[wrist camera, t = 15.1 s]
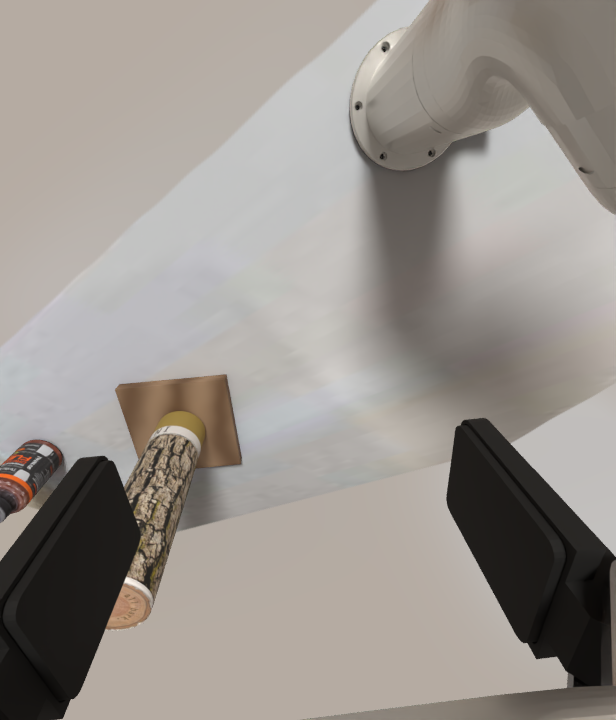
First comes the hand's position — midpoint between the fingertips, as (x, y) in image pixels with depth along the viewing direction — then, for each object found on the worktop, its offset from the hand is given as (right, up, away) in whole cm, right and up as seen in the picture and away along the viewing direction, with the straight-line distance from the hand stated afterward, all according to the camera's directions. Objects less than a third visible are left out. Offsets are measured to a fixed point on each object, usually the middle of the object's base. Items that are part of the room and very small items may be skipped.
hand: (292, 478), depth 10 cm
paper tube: (-18, -7, +42) cm, 47 cm away
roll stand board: (-18, -6, +44) cm, 48 cm away
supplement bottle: (-40, -11, +44) cm, 61 cm away
